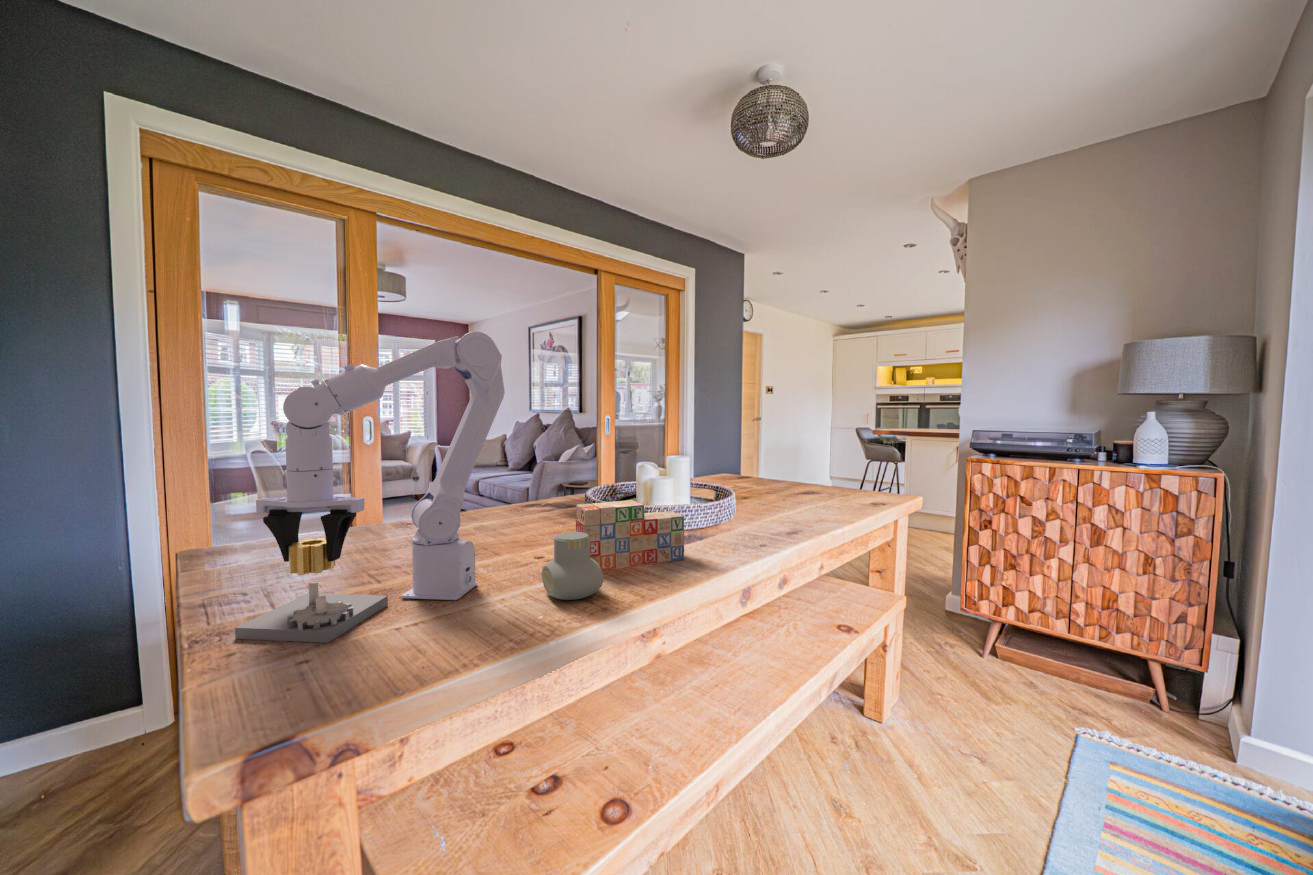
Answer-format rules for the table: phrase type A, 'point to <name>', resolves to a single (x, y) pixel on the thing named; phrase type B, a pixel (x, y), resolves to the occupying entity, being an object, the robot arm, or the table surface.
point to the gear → (320, 616)
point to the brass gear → (309, 557)
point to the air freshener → (572, 568)
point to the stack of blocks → (630, 534)
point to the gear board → (277, 621)
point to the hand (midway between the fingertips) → (312, 559)
